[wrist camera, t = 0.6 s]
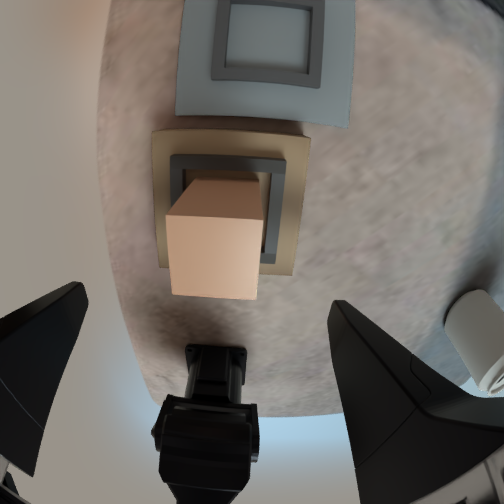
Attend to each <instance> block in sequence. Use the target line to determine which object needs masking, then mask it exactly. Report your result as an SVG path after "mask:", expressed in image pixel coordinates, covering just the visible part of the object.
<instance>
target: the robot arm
mask: <svg viewBox="0 0 504 504" xmlns="http://www.w3.org/2000/svg"><path fill="white" fill-rule="evenodd" d="M87 308H88V298H87V294H86V291H85V287H84V285H83V283H81V282H75V281H74V282H71V283H68V284H66V285H64V286H62V287H60V288H58V289H56V290H54V291H52V292H50V293H48V294H46V295H44V296H42V297H40V298H39V299H36V300H35V301H32V302H31V303H29V304H27V305H25V306H23V307H21V308H19V309H17V310H15V311H13V312H12V313H10V314H8V315H6V316H5V317H2V318H0V504H31V503H29V502H27V501H26V500H24V499H23V498H21V497H20V496H19V494H18V491H17V489H16V486H15V484H14V481H13V478H12V476H11V474H10V473H9V472H7V468H8V465H9V463H10V464H12V465H13V466H15V467H16V468H18V469H19V470H21V471H23V472H24V473H26V474H28V475H29V476H31V477H33V475H34V472H35V467H36V462H37V457H38V453H39V449H40V445H41V441H42V437H43V433H44V429H45V426H46V422H47V419H48V416H49V412H50V409H51V406H52V403H53V400H54V397H55V394H56V391H57V389H58V386H59V383H60V380H61V378H62V375H63V372H64V369H65V367H66V364H67V362H68V359H69V357H70V354H71V352H72V350H73V347H74V345H75V343H76V340H77V337H78V335H79V331H80V329H81V325H82V323H83V320H84V317H85V314H86V311H87ZM327 326H328V334H329V341H330V350H331V358H332V364H333V368H334V372H335V376H336V381H337V385H338V389H339V394H340V398H341V402H342V407H343V412H344V416H345V421H346V426H347V430H348V435H349V440H350V445H351V451H352V456H353V461H354V466H355V468H356V469H355V473H356V479H357V485H358V491H359V497H360V503H361V504H504V397H494V398H481V397H476V396H473V395H470V394H469V393H467V392H465V391H464V390H462V389H461V388H460V387H458V386H457V385H455V384H454V383H452V382H451V381H449V380H448V379H446V378H445V377H443V376H442V375H440V374H439V373H438V372H436V371H435V370H433V369H432V368H430V367H429V366H428V365H427V364H425V363H424V362H423V361H421V360H420V359H419V358H418V357H416V356H415V355H414V354H412V353H411V352H410V351H409V350H408V349H406V348H405V347H404V346H403V345H401V344H400V343H399V342H398V341H396V340H395V339H394V338H393V337H391V336H390V335H389V334H388V333H386V332H385V331H384V330H382V329H381V328H380V327H379V326H377V325H376V324H375V323H374V322H372V321H371V320H370V319H368V318H367V317H366V316H365V315H363V314H362V313H361V312H360V311H358V310H357V309H356V308H354V307H353V306H352V305H351V304H349V303H348V302H347V301H345V300H334V301H333V303H332V305H331V309H330V312H329V316H328V320H327ZM185 353H186V360H187V366H188V372H189V376H188V381H187V386H186V392H185V397H177V396H173V395H170V394H168V395H167V397H166V400H164V402H163V405H162V407H161V410H160V413H159V416H158V418H157V421H156V423H155V425H154V426H153V428H152V430H151V435H152V436H153V437H154V439H155V447H156V450H157V451H159V452H160V459H159V460H160V461H159V474H160V476H161V478H162V480H163V482H164V483H167V485H168V486H169V488H170V490H171V492H172V493H173V495H174V497H175V498H176V500H177V504H230V503H231V502H232V501H233V500H234V498H235V497H236V496H237V495H238V493H239V492H241V491H242V490H243V488H244V487H245V486H246V484H247V483H248V481H249V479H250V466H251V462H257V460H258V455H259V440H260V438H259V437H260V435H259V425H258V424H259V423H258V413H257V404H241V388H242V385H244V383H245V372H246V360H247V350H246V349H243V348H227V347H213V346H201V345H190V344H189V345H186V348H185Z"/></svg>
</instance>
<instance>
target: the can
mask: <svg viewBox="0 0 504 504" xmlns="http://www.w3.org/2000/svg"><path fill="white" fill-rule="evenodd" d="M445 333H446V334H447V336H448V338H449V339H450V341H451V342H452V344H453V345H454V347H455V349H456V350H457V352H458V354H459V355H460V357H461V358H462V360H463V362H464V364H465V365H466V367H467V369H468V370H469V372H470V374H471V376H472V378H473V379H474V381H475V383H476V385H477V386H478V389H479V390H482V391H488V395H489V396H493V395H495V394H497V393H498V392H500V391H501V390H503V389H504V312H503V311H502V310H501V308H500V307H499V306H498V305H497V304H496V303H495V301H494V300H493V299H492V298H491V297H490V296H489V295H488V294H487V292H485V291H484V290H475V291H470V292H467V293H466V294H464V295H463V296H461V297H460V298H459V299H458V300H457V301H456V302H455V303H454V305H453V306H452V307H451V309H450V311H449V313H448V315H447V319H446V323H445Z"/></svg>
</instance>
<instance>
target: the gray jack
mask: <svg viewBox="0 0 504 504" xmlns="http://www.w3.org/2000/svg"><path fill="white" fill-rule="evenodd" d="M354 46H355V0H185V4H184V11H183V19H182V27H181V36H180V46H179V57H178V69H177V84H176V103H175V116H179V115H224V116H247V117H262V118H274V119H285V120H294V121H302V122H310V123H317V124H324V125H330V126H336V127H342V128H347V129H348V123H349V113H350V103H351V92H352V80H353V65H354Z"/></svg>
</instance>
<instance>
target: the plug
mask: <svg viewBox="0 0 504 504" xmlns="http://www.w3.org/2000/svg"><path fill="white" fill-rule="evenodd" d="M262 230H263V211H262V202H261V193H260V183H259V180H256V179H239V178H218V177H196V178H195V179H194V180H193V182H192V183H191V184H190V185H189V186H188V188H187V189H186V190H185V191H184V193H183V194H182V195H181V196H180V198H179V199H178V200H177V201H176V203H175V204H174V205H173V206H172V208H171V209H170V210H169V211H168V213H167V214H166V231H167V245H168V257H169V268H170V278H171V287H172V294H174V295H186V296H199V297H213V298H228V299H245V300H256V295H257V284H258V274H259V263H260V252H261V241H262Z"/></svg>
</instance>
